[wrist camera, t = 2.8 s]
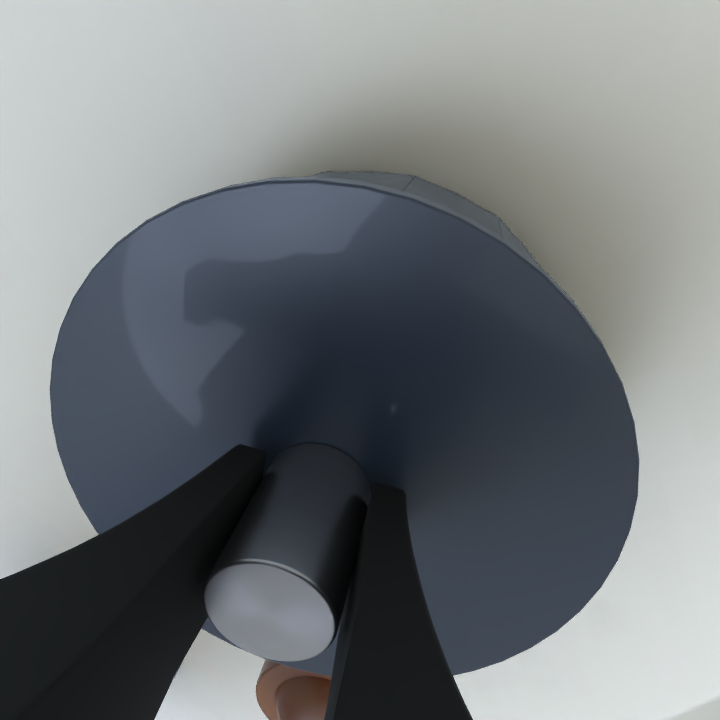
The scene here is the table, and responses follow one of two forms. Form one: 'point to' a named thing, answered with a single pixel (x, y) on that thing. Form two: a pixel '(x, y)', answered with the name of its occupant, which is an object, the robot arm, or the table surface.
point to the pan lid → (352, 410)
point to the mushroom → (292, 693)
